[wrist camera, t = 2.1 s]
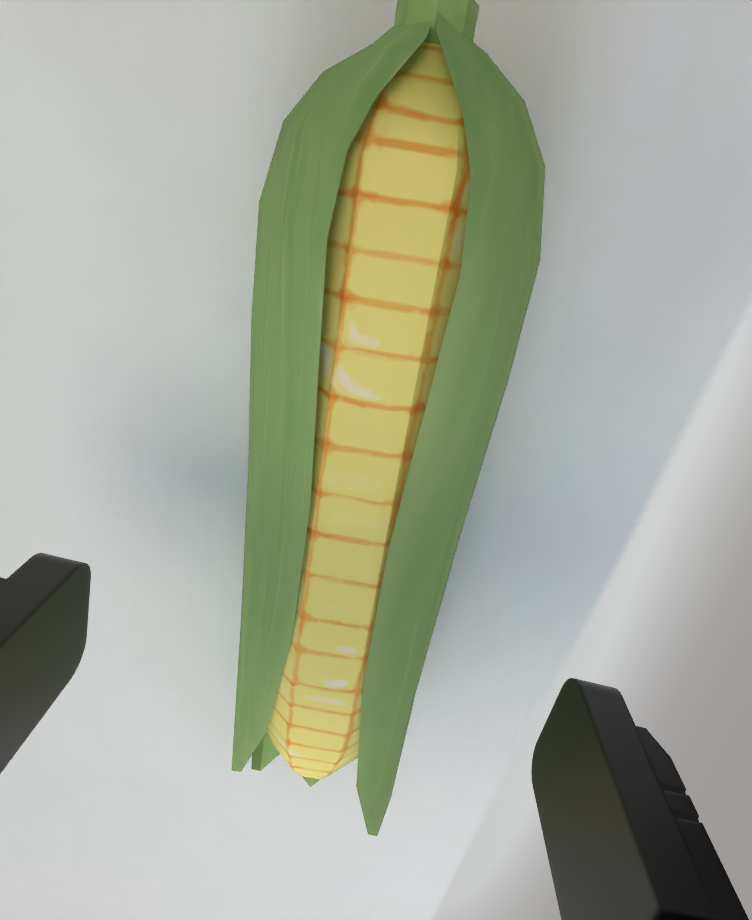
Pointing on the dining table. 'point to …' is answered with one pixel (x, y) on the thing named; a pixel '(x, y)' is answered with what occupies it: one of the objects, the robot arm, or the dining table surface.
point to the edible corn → (375, 382)
